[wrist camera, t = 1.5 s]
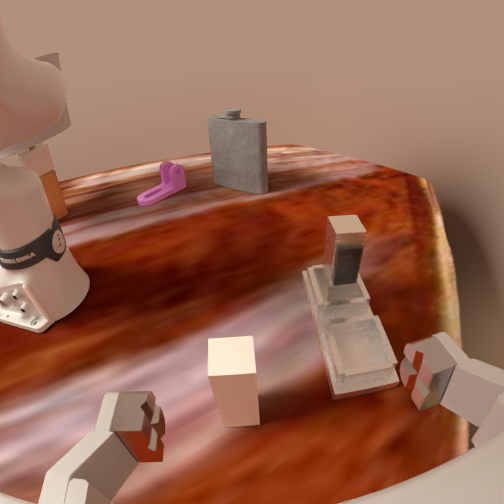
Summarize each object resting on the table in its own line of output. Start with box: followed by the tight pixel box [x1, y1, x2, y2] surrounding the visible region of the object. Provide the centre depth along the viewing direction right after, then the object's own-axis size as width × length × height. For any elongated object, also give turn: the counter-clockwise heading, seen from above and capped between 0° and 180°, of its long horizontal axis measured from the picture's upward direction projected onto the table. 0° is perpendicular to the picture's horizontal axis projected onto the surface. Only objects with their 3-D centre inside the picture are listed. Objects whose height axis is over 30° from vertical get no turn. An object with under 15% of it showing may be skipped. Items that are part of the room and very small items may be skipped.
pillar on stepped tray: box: [302, 215, 400, 400], centre depth 39 cm, size 8×22×14 cm, turn 4°
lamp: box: [0, 53, 71, 220], centre depth 61 cm, size 23×23×42 cm
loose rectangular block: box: [208, 336, 260, 427], centre depth 31 cm, size 4×5×12 cm
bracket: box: [137, 161, 186, 206], centre depth 77 cm, size 13×6×7 cm, turn 140°
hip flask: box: [207, 108, 268, 194], centre depth 73 cm, size 16×4×20 cm, turn 56°
